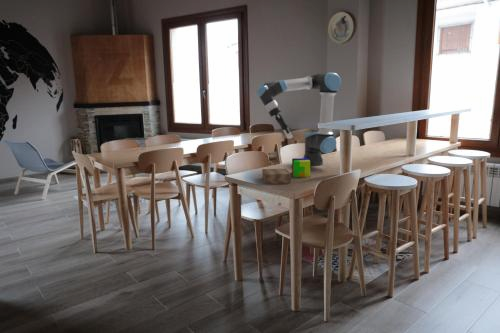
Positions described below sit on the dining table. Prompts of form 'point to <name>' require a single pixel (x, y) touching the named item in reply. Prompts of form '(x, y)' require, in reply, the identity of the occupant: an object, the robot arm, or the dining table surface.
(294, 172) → the puzzle toy
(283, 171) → the walnut block
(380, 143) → the dining table surface
